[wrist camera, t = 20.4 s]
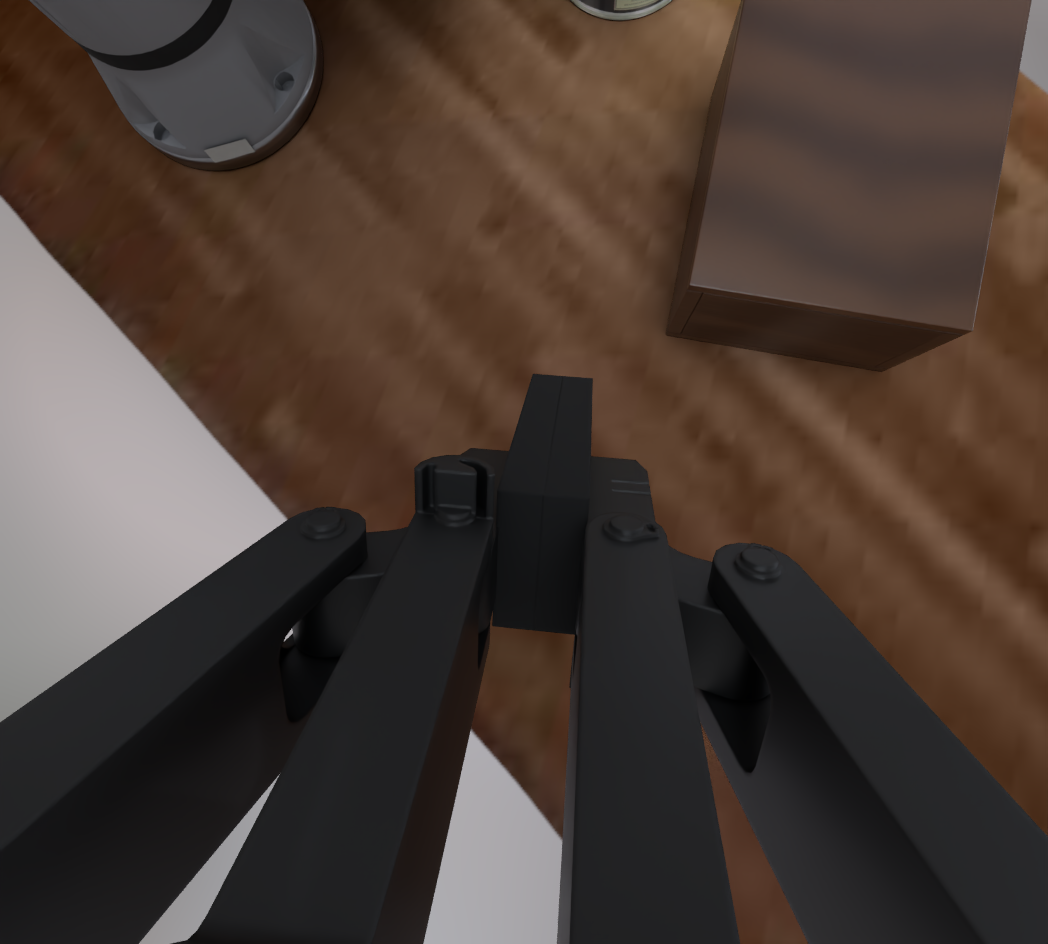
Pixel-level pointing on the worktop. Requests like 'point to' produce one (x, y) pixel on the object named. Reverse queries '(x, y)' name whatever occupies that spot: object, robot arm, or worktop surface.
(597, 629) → the robot arm
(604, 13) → the coffee can
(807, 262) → the lid
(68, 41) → the worktop surface
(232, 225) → the worktop surface
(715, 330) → the chest
